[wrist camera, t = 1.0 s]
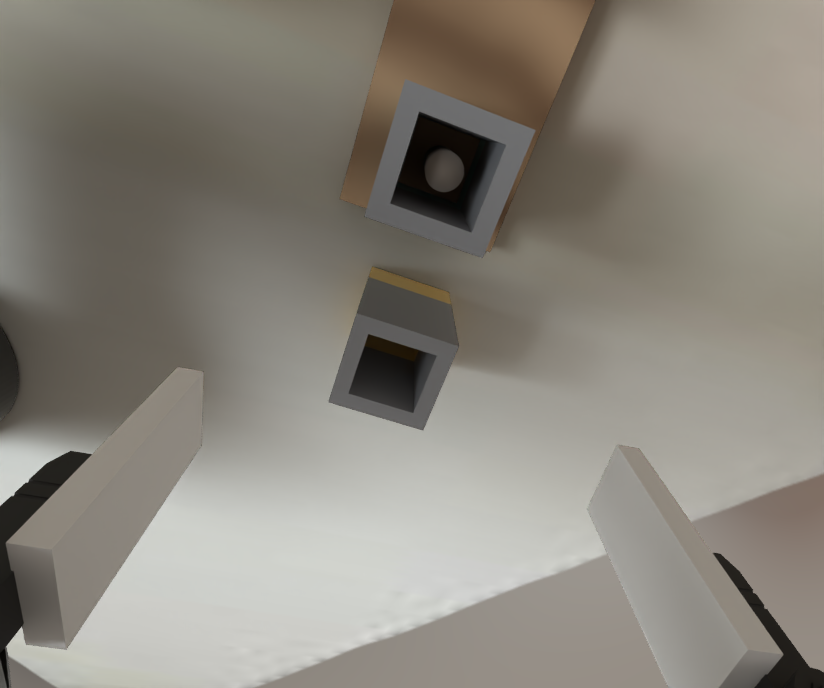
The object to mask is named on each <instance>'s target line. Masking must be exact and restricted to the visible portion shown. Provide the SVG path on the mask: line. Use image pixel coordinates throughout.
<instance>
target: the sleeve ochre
mask: <svg viewBox="0 0 824 688" xmlns="http://www.w3.org/2000/svg"><path fill="white" fill-rule="evenodd" d="M458 347H459V344H458V339H457V333H456V328H455V322H454V317H453V311H452V306H451V301H450V295H449V292H446V291H443V290H440V289H437V288H434V287H431V286H428V285H425V284H423V283H420V282H417V281H414V280H411V279H408V278H405V277H402V276H399V275H396V274H393V273H390V272H387V271H384V270H381V269H378V268H375V267H372V268H371V271H370V274H369V278H368V281H367V284H366V287H365V290H364V293H363V296H362V299H361V302H360V305H359V308H358V311H357V314H356V317H355V320H354V323H353V326H352V329H351V332H350V336H349V339H348V342H347V345H346V348H345V351H344V354H343V358H342V361H341V364H340V367H339V370H338V373H337V376H336V380H335V383H334V386H333V389H332V392H331V395H330V398H329V403H333V404H336V405H339V406H343V407H346V408H350V409H353V410H356V411H360V412H363V413H366V414H370V415H373V416H376V417H380V418H383V419H387V420H390V421H393V422H397V423H400V424H403V425H407V426H410V427H413V428H417V429H420V430H423V429H424V427H425V425H426V422H427V420H428V418H429V415H430V413H431V411H432V408H433V406H434V404H435V401H436V399H437V397H438V394H439V392H440V390H441V387H442V385H443V383H444V380H445V378H446V375H447V373H448V371H449V368H450V366H451V364H452V361H453V359H454V357H455V354H456V352H457V350H458Z"/></svg>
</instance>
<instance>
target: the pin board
mask: <svg viewBox="0 0 824 688" xmlns="http://www.w3.org/2000/svg"><path fill="white" fill-rule="evenodd" d="M595 1H596V0H394V1H393V5H392V9H391V12H390V16H389V20H388V23H387V27H386V31H385V34H384V38H383V42H382V45H381V49H380V53H379V56H378V60H377V64H376V67H375V71H374V75H373V78H372V82H371V85H370V89H369V93H368V96H367V100H366V104H365V107H364V111H363V115H362V118H361V122H360V126H359V129H358V133H357V137H356V140H355V144H354V148H353V151H352V155H351V159H350V162H349V166H348V170H347V173H346V177H345V181H344V184H343V188H342V192H341V195H340V199H341V200H344V201H347V202H350V203H352V204H355V205H358V206H361V207H364V208H367V206H368V202H369V199H370V195H371V192H372V189H373V185H374V182H375V179H376V175H377V172H378V169H379V165H380V162H381V159H382V155H383V152H384V149H385V145H386V142H387V139H388V135H389V132H390V128H391V125H392V122H393V118H394V115H395V112H396V108H397V105H398V102H399V98H400V95H401V92H402V88H403V85H404V82H405V79H407V80H409V81H412V82H414V83H417V84H419V85H422V86H424V87H427V88H430V89H432V90H435V91H437V92H440V93H442V94H445V95H447V96H450V97H452V98H455V99H458V100H460V101H463V102H465V103H468V104H470V105H473V106H475V107H478V108H481V109H483V110H486V111H488V112H491V113H493V114H496V115H498V116H501V117H503V118H506V119H509V120H511V121H514V122H516V123H519V124H521V125H524V126H526V127H529V128H531V129H534V130H536V131H535V133H534V135H533V138H532V140H531V143H530V145H529V147H528V150H527V152H526V155H525V157H524V160H523V162H522V164H521V167H520V169H519V172H518V174H517V176H516V179H515V181H514V184H513V186H512V189H511V191H510V193H509V196H508V198H507V201H506V203H505V205H504V208H503V210H502V213H501V215H500V217H499V220H498V222H497V225H496V227H495V230H494V232H493V234H492V237H491V239H490V242H489V244H488V246H487V249H486V251H488V252H490V251H491V249H492V247H493V244H494V242H495V239H496V237H497V235H498V232H499V230H500V228H501V225H502V223H503V220H504V218H505V216H506V213H507V211H508V208H509V206H510V204H511V201H512V199H513V196H514V194H515V192H516V189H517V187H518V185H519V182H520V180H521V177H522V175H523V173H524V170H525V168H526V165H527V163H528V161H529V158H530V156H531V153H532V151H533V149H534V146H535V144H536V142H537V139H538V137H539V134H540V132H541V130H542V127H543V125H544V122H545V120H546V118H547V115H548V113H549V110H550V108H551V106H552V103H553V101H554V99H555V96H556V94H557V91H558V89H559V87H560V84H561V82H562V79H563V77H564V75H565V72H566V70H567V67H568V65H569V63H570V60H571V58H572V56H573V53H574V51H575V48H576V46H577V44H578V41H579V39H580V36H581V34H582V32H583V29H584V27H585V25H586V22H587V20H588V17H589V15H590V13H591V10H592V8H593V5H594V3H595ZM479 142H480V139H477V138H475V137H472V136H470V135H467V134H464V133H462V132H459V131H457V130H454V129H451V128H449V127H446V126H444V125H441V124H438V123H436V122H433V121H431V120H428V119H425V118H423V117H420V116H419V118H418V121H417V124H416V127H415V130H414V134H413V137H412V140H411V143H410V146H409V149H408V152H407V156H406V159H405V162H404V165H403V168H402V171H401V174H400V178H399V181H398V182H400V183H402V184H405V185H408V186H411V187H414V188H416V189H419V190H422V191H425V192H427V193H430V194H433V195H436V196H438V197H441V198H444V199H447V200H449V201H452V202H455V203H457V201H458V199H459V196H460V193H461V191H462V188H463V185H464V183H465V180H466V177H467V175H468V172H469V169H470V167H471V164H472V161H473V159H474V156H475V153H476V151H477V148H478V145H479Z"/></svg>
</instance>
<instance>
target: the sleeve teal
mask: <svg viewBox="0 0 824 688" xmlns="http://www.w3.org/2000/svg"><path fill="white" fill-rule="evenodd" d="M419 116H420V117H423V118H425V119H428V120H431V121H433V122H436V123H438V124H441V125H444V126H446V127H449V128H451V129H454V130H457V131H459V132H462V133H464V134H467V135H470V136H472V137H475V138H477V139H480V142H479V145H478V148H477V151H476V153H475V156H474V159H473V161H472V164H471V167H470V169H469V172H468V175H467V177H466V180H465V183H464V185H463V188H462V191H461V193H460V196H459V199H458V201H457V203H455V202H452V201H449V200H447V199H444V198H441V197H438V196H436V195H433V194H430V193H427V192H425V191H422V190H419V189H416V188H414V187H411V186H408V185H405V184H402V183H400V182H398V181H399V178H400V174H401V171H402V168H403V165H404V162H405V159H406V156H407V152H408V149H409V146H410V143H411V140H412V137H413V134H414V130H415V127H416V124H417V121H418V118H419ZM535 131H536V130H534V129H531V128H529V127H526V126H524V125H521V124H519V123H516V122H514V121H511V120H509V119H506V118H503V117H501V116H498V115H496V114H493V113H491V112H488V111H486V110H483V109H481V108H478V107H475V106H473V105H470V104H468V103H465V102H463V101H460V100H458V99H455V98H452V97H450V96H447V95H445V94H442V93H440V92H437V91H435V90H432V89H430V88H427V87H424V86H422V85H419V84H417V83H414V82H412V81H409V80H407V79H405V82H404V85H403V88H402V92H401V95H400V98H399V102H398V105H397V108H396V112H395V115H394V118H393V122H392V125H391V128H390V132H389V135H388V139H387V142H386V145H385V149H384V152H383V155H382V159H381V162H380V165H379V169H378V172H377V175H376V179H375V182H374V185H373V189H372V192H371V195H370V199H369V202H368V206H367V209H366V212H365V216H364V217H367V218H369V219H372V220H375V221H378V222H381V223H384V224H387V225H389V226H392V227H395V228H398V229H401V230H404V231H406V232H409V233H412V234H415V235H418V236H421V237H424V238H426V239H429V240H432V241H435V242H438V243H441V244H444V245H446V246H449V247H452V248H455V249H458V250H461V251H463V252H466V253H469V254H472V255H475V256H478V257H481V258H483V256H484V254H485V251H486V249H487V246H488V244H489V242H490V239H491V237H492V234H493V232H494V230H495V227H496V225H497V222H498V220H499V217H500V215H501V213H502V210H503V208H504V205H505V203H506V201H507V198H508V196H509V193H510V191H511V189H512V186H513V184H514V181H515V179H516V176H517V174H518V172H519V169H520V167H521V164H522V162H523V160H524V157H525V155H526V152H527V150H528V147H529V145H530V143H531V140H532V138H533V135H534V133H535Z"/></svg>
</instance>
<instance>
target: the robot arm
mask: <svg viewBox="0 0 824 688" xmlns="http://www.w3.org/2000/svg"><path fill="white" fill-rule="evenodd" d="M203 380H204V371H198V370H193V369H187V368H181V367H177V368H176V369H175V370H174V371H173V372H172V373H171V374H170V375H169V376H168V377H167V378H166V379H165V380H164V381H163V382H162V383H161V384H160V385H159V387H158V388H157V389H156V390H155V391H154V392H153V393H152V394H151V395H150V396H149V397H148V398H147V399H146V400H145V401H144V402H143V403H142V404H141V405H140V406H139V407H138V408H137V409H136V410H135V411H134V412H133V413H132V414H131V415H130V416H129V417H128V418H127V419H126V420H125V421H124V422H123V423H122V424H121V425H120V426H119V427H118V428H117V429H116V431H115V432H114V433H113V434H112V435H111V436H110V437H109V438H108V439H107V440H106V441H105V442H104V443H103V444H102V445H101V446H100V447H99V448H98V449H97V450H96V451H95V452H94V453H93V454H86V453H80V452H74V451H70V452H68V453H66V454H64V455H62V456H60V457H58V458H56V459H54V460H52V461H50V462H48V463H47V464H46V465H44V466H43V467H42V468H41V469H40V470H39V471H38V472H37V473H36V474H35V475H34V476H33V477H31V478H30V479H29V482H28V483H25V484H24V485H23V486H22V487H21V488H20V489H18V490H17V491H16V492H15V495H14V496H11V497H10V498H9V499H8V500H6V501H5V502H4V503H3V504H2V505H1V506H0V688H11V680H10V671H9V663H8V662H9V661H8V653H7V648H6V646H7V644H8V643H9V642H10V641H11V639H12V638H13V637H14V635H15V634H16V633H17V632H18V630H19V629H20V628H21V626H22V628H23V633H24V638H25V643H26V645H33V646H41V647H49V648H57V649H64V650H67V648H68V646H69V645H70V643H71V642H72V640H73V639H74V637H75V636H76V634H77V633H78V631H79V630H80V628H81V627H82V625H83V624H84V622H85V621H86V619H87V618H88V616H89V615H90V613H91V612H92V610H93V609H94V607H95V606H96V604H97V603H98V601H99V600H100V598H101V597H102V595H103V594H104V592H105V591H106V589H107V588H108V586H109V585H110V583H111V582H112V580H113V579H114V577H115V575H116V574H117V572H118V571H119V569H120V568H121V566H122V565H123V563H124V562H125V560H126V559H127V557H128V556H129V554H130V553H131V551H132V550H133V548H134V547H135V545H136V544H137V542H138V541H139V539H140V538H141V536H142V535H143V533H144V532H145V530H146V529H147V527H148V526H149V524H150V523H151V521H152V520H153V518H154V517H155V515H156V514H157V512H158V511H159V509H160V508H161V506H162V505H163V503H164V501H165V500H166V498H167V497H168V495H169V494H170V492H171V491H172V489H173V488H174V486H175V485H176V483H177V482H178V480H179V479H180V477H181V476H182V474H183V473H184V471H185V470H186V468H187V467H188V465H189V464H190V462H191V461H192V459H193V458H194V456H195V455H196V453H197V452H198V450H199V449H200V447H201V446H202V415H203ZM17 391H18V369H17V364H16V360H15V357H14V354H13V351H12V348H11V346H10V344H9V342H8V340H7V338H6V336H5V334H4V333H3V331H2V329H1V328H0V421H1V420H2V419H3V418H4V417H5V416H6V414H7V413H8V412H9V411H10V409H11V407H12V406H13V404H14V401H15V399H16V395H17ZM587 510H588V512H589V514H590V517H591V519H592V521H593V523H594V525H595V528H596V530H597V532H598V534H599V536H600V539H601V541H602V543H603V545H604V547H605V550H606V552H607V554H608V556H609V558H610V561H611V563H612V565H613V567H614V569H615V572H616V574H617V576H618V578H619V580H620V583H621V585H622V587H623V589H624V591H625V593H626V596H627V598H628V600H629V602H630V605H631V607H632V609H633V611H634V613H635V616H636V618H637V620H638V622H639V625H640V627H641V629H642V631H643V633H644V635H645V638H646V640H647V642H648V644H649V647H650V649H651V651H652V653H653V655H654V658H655V660H656V662H657V664H658V666H659V669H660V671H661V673H662V675H663V677H664V679H665V682H666V684H667V686H668V688H824V672H822V671H820V670H818V669H813V668H810V667H809V666H808V664H807V663H806V662H805V660H804V659H803V658H802V656H801V655H800V654H799V652H798V651H797V650H796V648H795V647H794V645H793V644H792V643H791V641H790V640H789V639H788V637H787V636H786V634H785V633H784V632H783V630H782V629H781V628H780V626H779V625H778V623H777V622H776V621H775V619H774V618H773V617H772V616H771V614H770V613H769V611H768V610H767V609H764V604H763V603H762V602H761V600H760V599H759V598H758V596H757V595H756V594H755V593H753V589H752V588H751V587H750V585H749V584H748V583H747V581H746V580H745V579H744V577H743V576H742V574H741V573H740V572H739V571H738V570H737V569H736V568H735V567H734V566H733V565H732V564H731V563H730V562H729V561H728V560H726V559H725V558H724V557H723V556H722V555H721V554H718V553H712V552H711V550H710V549H709V547H708V546H707V545H706V543H705V542H704V540H703V539H702V538H701V536H700V534H699V533H698V532H697V530H696V529H695V527H694V526H693V525H692V523H691V522H690V520H689V519H688V517H687V516H686V514H685V513H684V512H683V510H682V509H681V507H680V506H679V504H678V503H677V502H676V500H675V499H674V497H673V496H672V495H671V493H670V492H669V490H668V489H667V487H666V486H665V485H664V483H663V482H662V480H661V479H660V477H659V476H658V475H657V473H656V472H655V470H654V469H653V467H652V466H651V465H650V463H649V462H648V460H647V459H646V457H645V456H644V455H643V453H642V452H641V450H640V449H639V448H633V447H627V446H622V445H617V446H616V448H615V450H614V452H613V454H612V456H611V459H610V461H609V463H608V465H607V467H606V469H605V471H604V474H603V476H602V478H601V480H600V482H599V484H598V486H597V489H596V491H595V493H594V495H593V497H592V499H591V501H590V504H589V506H588V508H587Z"/></svg>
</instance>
